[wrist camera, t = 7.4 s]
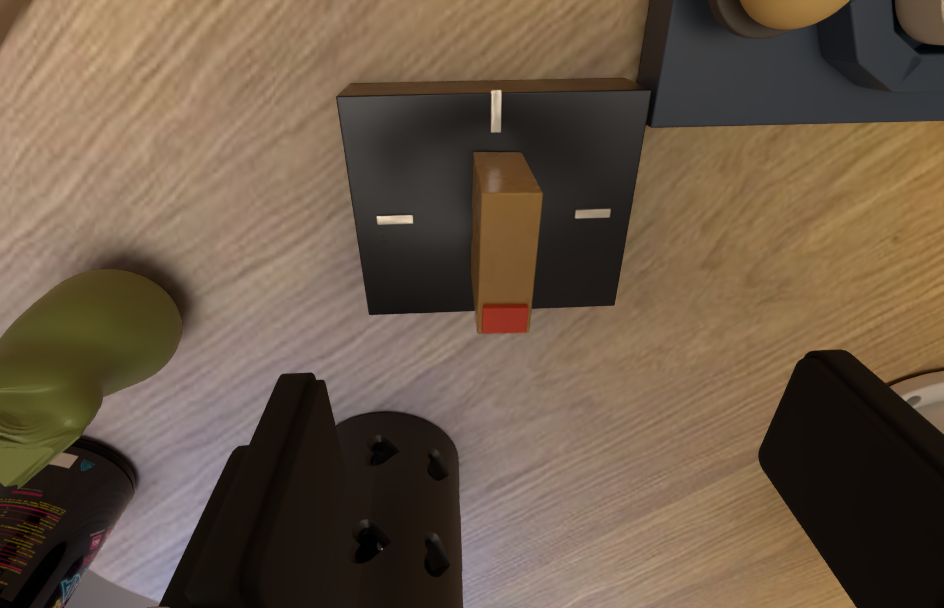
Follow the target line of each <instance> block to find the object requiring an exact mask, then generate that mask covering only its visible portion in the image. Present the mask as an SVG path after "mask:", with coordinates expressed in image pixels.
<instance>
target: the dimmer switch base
mask: <svg viewBox="0 0 944 608" xmlns="http://www.w3.org/2000/svg"><path fill="white" fill-rule="evenodd" d="M651 91H652V90H651V89H649V88H647V87H644V86H642V85H640V84H637V83H635V82H633V81H630V80H628V79H626V78H595V79H546V80H497V81H447V82H398V83H351V84H349V85H348V86H347V87H346V88H345V89H344V90H343V91H342V92H341V93H340V94H338V95H337V96H336V99H337V106H338V113H339V119H340V126H341V133H342V139H343V146H344V152H345V159H346V166H347V172H348V179H349V186H350V192H351V199H352V206H353V212H354V219H355V225H356V232H357V239H358V245H359V252H360V259H361V265H362V272H363V279H364V285H365V292H366V299H367V305H368V312H369V315H381V314H407V313H433V312H459V311H475V307H474V298H473V288H472V279H471V231H472V181H473V152H521V153H522V154H523V156H524V158H525V160H526V162H527V164H528V166H529V168H530V170H531V172H532V174H533V176H534V178H535V179H536V181H537V183H538V185H539V187H540V189H541V191H542V193H543V198H542V208H541V218H540V228H539V238H538V248H537V258H536V268H535V278H534V288H533V298H532V308H531V309H537V308H563V307H589V306H614V305H615V300H616V294H617V288H618V283H619V277H620V271H621V265H622V259H623V254H624V248H625V242H626V236H627V231H628V225H629V219H630V213H631V207H632V202H633V196H634V190H635V184H636V178H637V173H638V167H639V161H640V155H641V149H642V144H643V138H644V132H645V126H646V120H647V115H648V109H649V103H650V97H651Z"/></svg>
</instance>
